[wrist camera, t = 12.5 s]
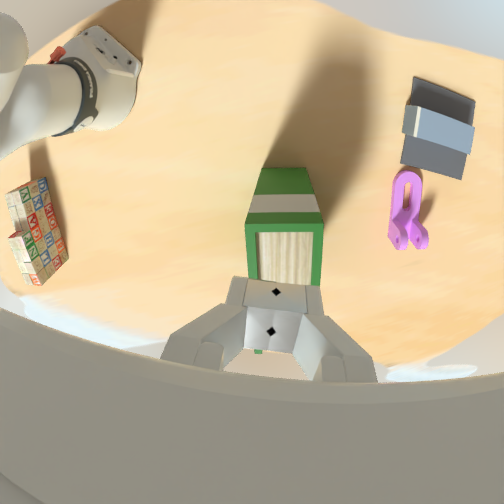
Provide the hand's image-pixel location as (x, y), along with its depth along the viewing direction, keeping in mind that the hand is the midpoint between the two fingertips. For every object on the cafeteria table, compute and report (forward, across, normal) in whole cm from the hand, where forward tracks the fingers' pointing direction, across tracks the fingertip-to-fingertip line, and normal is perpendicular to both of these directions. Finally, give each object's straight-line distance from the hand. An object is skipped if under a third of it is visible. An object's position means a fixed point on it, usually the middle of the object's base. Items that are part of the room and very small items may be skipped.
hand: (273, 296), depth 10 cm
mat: (+41, -28, -8) cm, 50 cm away
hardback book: (+41, -2, +13) cm, 43 cm away
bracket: (+42, -24, +7) cm, 49 cm away
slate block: (+38, -20, -8) cm, 44 cm away
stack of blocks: (+41, +52, +20) cm, 69 cm away
